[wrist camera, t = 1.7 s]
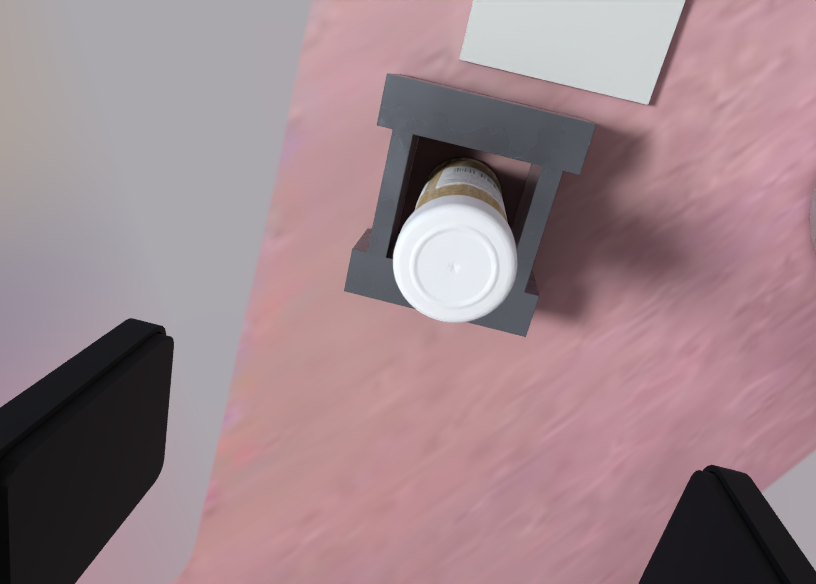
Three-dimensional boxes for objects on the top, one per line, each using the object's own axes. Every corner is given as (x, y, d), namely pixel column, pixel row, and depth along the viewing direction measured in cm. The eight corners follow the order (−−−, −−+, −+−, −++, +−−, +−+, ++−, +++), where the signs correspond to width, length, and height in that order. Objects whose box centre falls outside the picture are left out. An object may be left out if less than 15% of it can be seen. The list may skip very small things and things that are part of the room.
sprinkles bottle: (407, 198, 34) (365, 270, 21) (461, 138, 32) (450, 176, 20) (465, 250, 34) (457, 350, 22) (520, 194, 33) (546, 265, 20)
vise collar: (580, 117, 31) (596, 124, 27) (520, 306, 35) (525, 336, 31) (399, 74, 31) (387, 73, 27) (359, 265, 35) (344, 291, 31)
